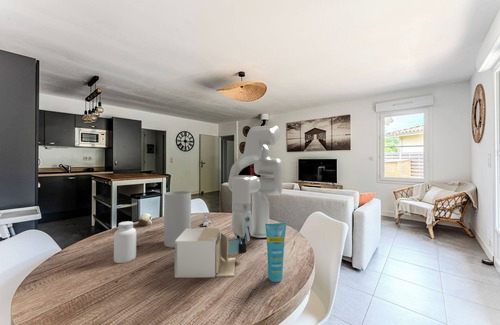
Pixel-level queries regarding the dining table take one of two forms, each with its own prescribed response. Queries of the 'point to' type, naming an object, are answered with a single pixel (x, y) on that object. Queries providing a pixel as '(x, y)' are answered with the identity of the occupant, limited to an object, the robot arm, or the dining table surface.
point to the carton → (201, 254)
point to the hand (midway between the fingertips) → (241, 251)
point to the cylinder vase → (176, 215)
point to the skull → (144, 220)
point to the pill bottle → (125, 242)
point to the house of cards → (205, 220)
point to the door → (228, 246)
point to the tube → (275, 250)
